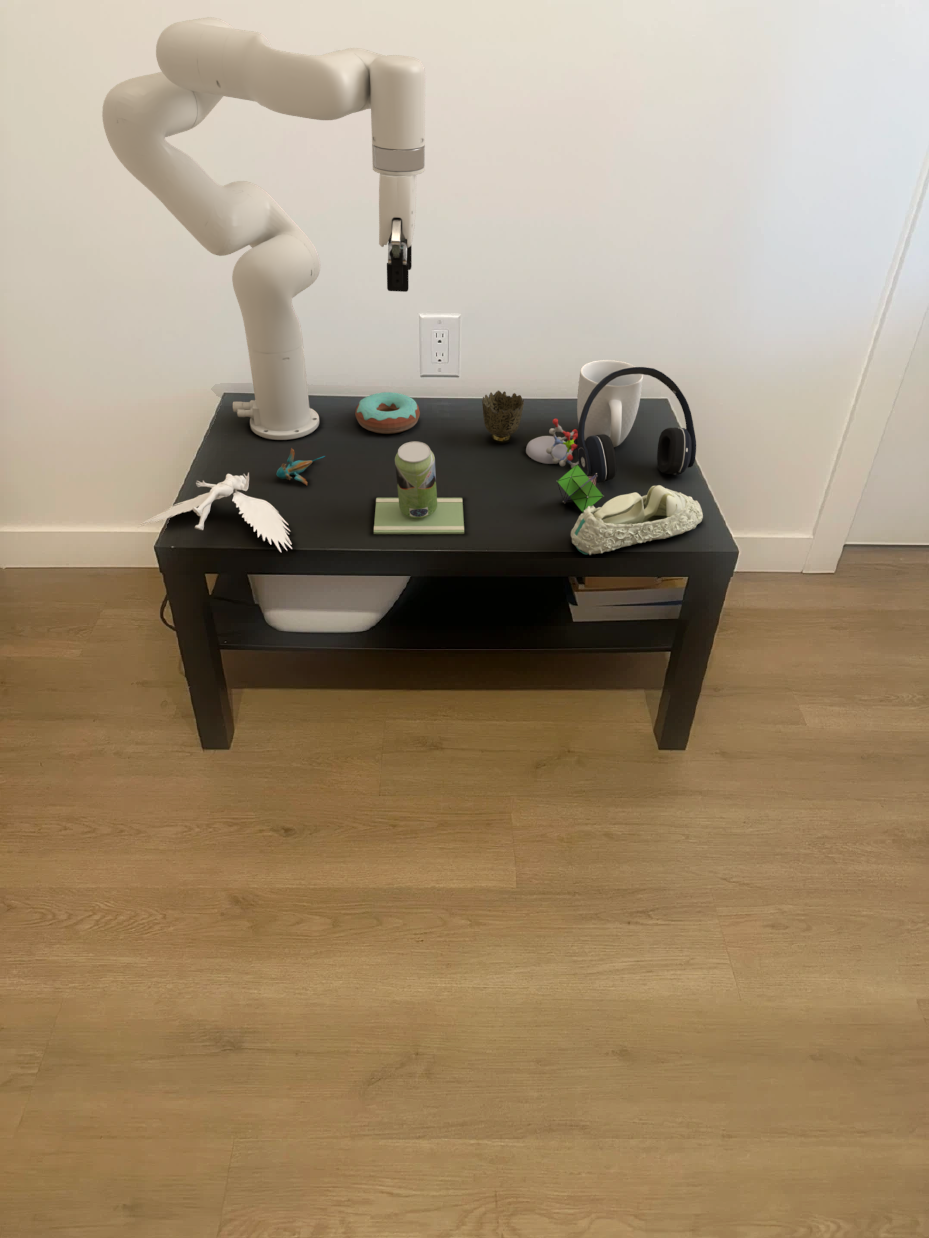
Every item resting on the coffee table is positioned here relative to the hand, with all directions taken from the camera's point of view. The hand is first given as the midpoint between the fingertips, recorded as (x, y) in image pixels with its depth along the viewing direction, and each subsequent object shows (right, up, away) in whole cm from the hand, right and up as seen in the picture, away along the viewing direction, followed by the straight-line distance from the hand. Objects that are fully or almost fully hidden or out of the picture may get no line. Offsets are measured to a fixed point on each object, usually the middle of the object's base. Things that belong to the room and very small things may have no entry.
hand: (399, 279), depth 135 cm
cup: (+17, -21, +23) cm, 35 cm away
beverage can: (+3, -37, +3) cm, 37 cm away
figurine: (-28, -36, -11) cm, 47 cm away
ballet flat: (+37, -40, 0) cm, 55 cm away
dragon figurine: (-18, -29, +12) cm, 36 cm away
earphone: (+40, -29, +12) cm, 51 cm away
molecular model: (+27, -19, +16) cm, 37 cm away
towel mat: (+3, -37, +3) cm, 37 cm away
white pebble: (+25, -22, +18) cm, 38 cm away
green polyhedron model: (+29, -34, 0) cm, 45 cm away
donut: (-4, -16, +27) cm, 32 cm away
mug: (+35, -21, +22) cm, 47 cm away
